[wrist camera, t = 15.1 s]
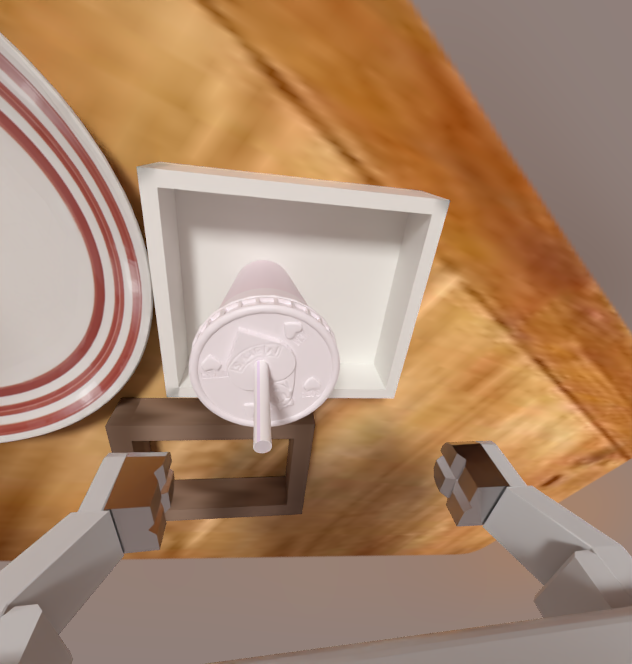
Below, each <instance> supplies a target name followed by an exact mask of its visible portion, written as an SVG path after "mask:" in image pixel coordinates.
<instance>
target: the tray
mask: <svg viewBox="0 0 632 664" xmlns="http://www.w3.org/2000/svg"><path fill="white" fill-rule="evenodd" d="M137 174H138V182H139V189H140V197H141V204H142V212H143V220H144V227H145V235H146V242H147V250H148V258H149V265H150V273H151V280H152V288H153V296H154V303H155V311H156V318H157V326H158V334H159V341H160V349H161V356H162V364H163V372H164V379H165V387H166V394H167V397H197V395H196V393H195V392H194V390H193V387H192V385H191V381H190V377H189V359H190V355H191V350H192V342H193V340H194V338H195V336H196V334H197V332H198V330H199V328H200V326H201V325H202V324H203V323H204V322H205V321H206V320H207V318H208V317H209V316H210V315H211V314H212V313H213V312H214V311H216V310H218V309H219V307H220V305H221V304H222V302H223V300H224V298H225V297H226V295H227V293H228V291H229V289H230V288H231V286H232V284H233V282H234V281H235V279H236V277H237V275H238V273H239V272H240V271H241V269H242V268H243V267H244V266H246V265H247V264H249V263H251V262H254V261H258V260H268V261H272V262H275V263H277V264H279V265H280V266H281V267H283V268H284V269H285V271H286V272H287V273H288V275H289V276H290V278H291V280H292V281H293V283H294V284H295V286H296V287H297V289H298V290H299V292H300V294H301V295H302V297H303V298H304V300H305V301H306V303H307V305H308V306H310V307H311V308H313V309H314V310H315V311H316V312H317V313H318V314H319V315H321V316H322V317H323V318H324V319H325V320H326V322H327V323H328V325H329V327H330V328H331V330H332V331H333V333H334V336H335V340H336V344H337V348H338V351H339V356H340V372H339V376H338V380H337V383H336V385H335V387H334V389H333V391H332V392H331V394H330V395H329V397H328V398H394V396H395V392H396V389H397V385H398V382H399V378H400V375H401V371H402V368H403V364H404V361H405V357H406V354H407V350H408V347H409V343H410V340H411V336H412V333H413V329H414V326H415V322H416V319H417V315H418V312H419V308H420V305H421V301H422V298H423V294H424V291H425V287H426V284H427V280H428V277H429V273H430V269H431V266H432V262H433V259H434V255H435V252H436V248H437V245H438V241H439V238H440V234H441V231H442V227H443V224H444V220H445V217H446V213H447V210H448V206H449V203H450V200H448V199H444V198H441V197H438V196H435V195H432V194H429V193H426V192H423V191H419V190H410V189H401V188H392V187H383V186H374V185H365V184H356V183H347V182H338V181H329V180H320V179H311V178H302V177H293V176H284V175H275V174H266V173H256V172H247V171H238V170H229V169H220V168H211V167H202V166H193V165H184V164H175V163H166V162H157V163H152V164H147V165H142V166H137Z"/></svg>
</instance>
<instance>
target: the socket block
mask: <svg viewBox="0 0 632 664" xmlns="http://www.w3.org/2000/svg"><path fill="white" fill-rule="evenodd" d="M105 427H106V431H107V435H108V439H109V443H110V447H111V451H112V453H128V452H151V448H150V442H149V441H164V440H232V439H253V431H254V427H249V426H243V425H239V424H236V423H232V422H230V421H227V420H225V419H223V418H221V417H219V416H218V415H216V414H214V413H213V412H212V411H210V410H209V409H208V408H207V407H206V406H205V405H204V404H203V403H202V402H201V401H200V399H199V398H121V399H120V401H119V403H118V405H117V406H116V408H115V410H114V412H113V413H112V415H111V417H110V419H109V420H108V422H107V424H106V426H105ZM314 428H315V422H314V415H313V412H312V413H310V414H309V415H307V416H305V417H303V418H301V419H299V420H297V421H294V422H291V423H288V424H285V425H280V426H274V427H271V437H272V439H289V446H288V456H287V466H286V476H285V477H254V478H224V479H193V480H174V492H173V499H172V503H171V507H170V508H169V509H168V510H167V511H166V512H165V518H166V521H176V520H195V519H215V518H234V517H254V516H273V515H293V514H302V509H303V502H304V496H305V489H306V482H307V475H308V468H309V462H310V455H311V448H312V441H313V434H314Z"/></svg>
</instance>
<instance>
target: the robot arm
mask: <svg viewBox="0 0 632 664" xmlns="http://www.w3.org/2000/svg"><path fill="white" fill-rule="evenodd" d="M441 453H442V454H443V456H441V457H440V458H439V459H437V460H436V463H435V466H434V479H435V482H436V485H437V487H438V489H439V491H440V492H441V493H442V494H443V495H445V496H446V497H447V503H446V506H447V508H448V510H449V512H450V514H451V516H452V518H453V520H454V522H455V524H456V526H474V525H483V527H484V528H485V529H486V530H487V531H488V532H489V533H490V534H491V535H492V536H493V537H494V538H495V539H496V540H497V541H498V542H499V543H500V544H501V545H502V546H503V547H504V548H506V550H508V551H509V552H510V553H511V554H512V555H513V556H514V557H515V558H516V559H517V560H518V561H519V562H520V563H521V564H522V565H523V566H524V567H525V568H526V569H527V570H528V571H529V572H531V573H532V574H533V575H534V576H535V577H536V578H537V579H538V580H539V581H540V582H541V583H542V584H543V585H544V586H543V587H542V589H541V590H540V591H539V592H538V593H537V594H536V595H535V598H534V602H535V604H536V606H537V608H538V610H539V611H540V613H541V615H542V617H543V618H540V619H533V620H526V621H519V622H511V623H503V624H496V625H488V626H482V627H473V628H466V629H459V630H451V631H444V632H437V633H429V634H422V635H414V636H407V637H400V638H392V639H385V640H377V641H370V642H362V643H355V644H348V645H341V646H333V647H326V648H319V649H311V650H303V651H296V652H289V653H281V654H274V655H266V656H259V657H251V658H245V659H237V660H230V661H222V662H215V663H208V664H632V557H631V556H630V555H629V553H628V552H627V551H626V550H625V549H624V548H623V546H622V545H620V544H619V543H617V542H616V541H614V540H613V539H611V538H610V537H608V536H606V535H605V534H604V533H602V532H601V531H599V530H598V529H596V528H595V527H593V526H592V525H590V524H588V523H587V522H585V521H584V520H582V519H581V518H579V517H578V516H576V515H575V514H573V513H572V512H570V511H569V510H567V509H566V508H564V507H563V506H561V505H560V504H558V503H557V502H555V501H554V500H552V499H551V498H549V497H548V496H546V495H545V494H543V493H542V492H540V491H539V490H537V489H536V488H534V487H533V486H527V485H526V484H525V482H524V481H523V480H522V478H521V477H520V476H519V474H518V473H517V472H516V470H515V469H514V468H513V466H512V465H511V464H510V462H509V461H508V460H507V458H506V457H505V456H504V454H503V453H502V452H501V450H500V449H499V448H498V446H497V445H496V444H495V443H494V442H492V441H476V442H475V441H466V442H446V443H445V444H444V445H443V446H442V448H441ZM171 462H172V459H171V454H170V452H128V453H109V454H108V455H107V456H106V457H105V458H104V459H103V461H102V463H101V465H100V467H99V469H98V471H97V473H96V475H95V477H94V479H93V482H92V484H91V486H90V488H89V490H88V492H87V494H86V496H85V498H84V500H83V502H82V504H81V506H80V508H79V510H78V512H73V513H70V514H69V515H67V516H66V517H65V518H64V519H62V520H61V521H60V522H59V523H58V524H56V525H55V526H54V527H53V528H52V529H50V530H49V531H48V532H47V533H46V534H44V535H43V536H42V537H41V538H39V539H38V540H37V541H36V542H35V543H33V544H32V545H31V546H30V547H29V548H27V549H26V550H25V551H24V552H22V553H21V554H20V555H19V556H18V557H16V558H15V559H14V560H13V561H12V562H10V563H9V564H8V565H7V566H6V567H4V568H3V569H2V570H1V571H0V664H72V661H73V658H72V655H71V653H70V651H69V650H68V648H67V647H66V645H65V644H64V642H63V641H62V640H61V638H60V637H59V634H60V633H61V631H62V630H63V629H64V628H65V626H66V625H67V624H68V623H69V622H70V620H71V619H72V618H73V617H74V616H75V614H76V613H77V612H78V610H80V608H81V607H82V606H83V605H84V603H85V602H86V601H87V600H88V599H89V597H90V596H91V595H92V594H93V593H94V591H95V590H96V589H97V588H98V586H99V585H100V584H101V583H102V582H103V580H104V579H105V578H106V577H107V576H108V574H109V573H110V572H111V570H112V569H113V568H114V567H115V566H116V565H117V564H118V562H119V561H120V560H121V559H122V557H123V556H124V554H123V553H133V552H142V551H151V550H160V547H161V543H162V539H163V535H164V531H165V527H166V518H165V512H166V511H167V510H168V509H169V508H170V507H171V503H172V499H173V492H174V471H172V470H171V469H170V465H171Z"/></svg>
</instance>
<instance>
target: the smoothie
mask: <svg viewBox="0 0 632 664" xmlns="http://www.w3.org/2000/svg"><path fill="white" fill-rule="evenodd" d="M339 372H340V356H339V351H338V348H337V344H336V340H335V336H334V333H333V331H332V330H331V328H330V327H329V325H328V323H327V322H326V320H325V319H324V318H323V317H322V316H321V315H319V314H318V313H317V312H316V311H315V310H314V309H313V308H311V307H310V306H308V305H307V303H306V301H305V300H304V298H303V297H302V295H301V294H300V292H299V290H298V289H297V287H296V286H295V284H294V283H293V281H292V280H291V278H290V276H289V275H288V273H287V272H286V271H285V269H284V268H283V267H281V266H280V265H279V264H277V263H275V262H272V261H268V260H258V261H254V262H251V263H249V264H247V265H246V266H244V267H243V268H242V269H241V271H240V272H239V273H238V275H237V277H236V279H235V281H234V282H233V284H232V286H231V288H230V289H229V291H228V293H227V295H226V297H225V298H224V300H223V302H222V304H221V305H220V307H219V309H218V310H216V311H214V312H213V313H212V314H211V315H210V316H209V317H208V318H207V320H206V321H205V322H204V323H203V324H202V325H201V326H200V328H199V330H198V332H197V334H196V336H195V338H194V340H193V342H192V350H191V355H190V359H189V377H190V381H191V385H192V387H193V390H194V392H195V393H196V395H197V397H198V398H199V399H200V401H201V402H202V403H203V404H204V405H205V406H206V407H207V408H208V409H209V410H210V411H212V412H213V413H214V414H216V415H218V416H219V417H221V418H223V419H225V420H227V421H230V422H232V423H236V424H239V425H243V426H249V427H254V431H253V449H254V450H255V451H256V452H258V453H266V452H268V451H270V450H271V448H272V437H271V427H274V426H280V425H285V424H288V423H291V422H294V421H297V420H299V419H301V418H303V417H305V416H307V415H309V414H310V413H312V412H313V411H315V410H316V409H317V408H318V407H319V406H321V405H322V404H323V403H324V402H325V400H326V399H327V398H328V397H329V395H330V394H331V392H332V391H333V389H334V387H335V385H336V383H337V380H338V376H339Z"/></svg>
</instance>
